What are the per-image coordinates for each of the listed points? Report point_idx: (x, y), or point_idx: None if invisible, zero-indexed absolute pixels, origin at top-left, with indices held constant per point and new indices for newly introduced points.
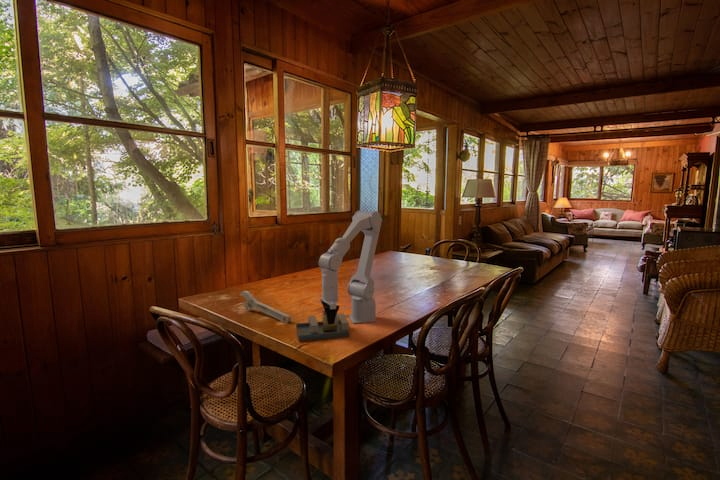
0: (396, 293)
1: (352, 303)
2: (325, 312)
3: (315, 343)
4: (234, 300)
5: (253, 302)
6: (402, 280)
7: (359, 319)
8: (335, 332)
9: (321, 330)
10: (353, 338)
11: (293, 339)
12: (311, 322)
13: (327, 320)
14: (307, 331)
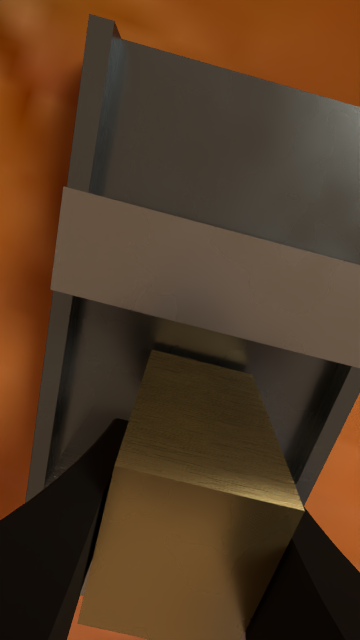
0: None
1: None
2: (206, 523)
3: (14, 201)
4: None
5: None
6: None
7: (244, 636)
8: (39, 411)
9: (190, 336)
10: (14, 479)
11: (185, 12)
12: (184, 239)
13: (98, 440)
14: (231, 201)
